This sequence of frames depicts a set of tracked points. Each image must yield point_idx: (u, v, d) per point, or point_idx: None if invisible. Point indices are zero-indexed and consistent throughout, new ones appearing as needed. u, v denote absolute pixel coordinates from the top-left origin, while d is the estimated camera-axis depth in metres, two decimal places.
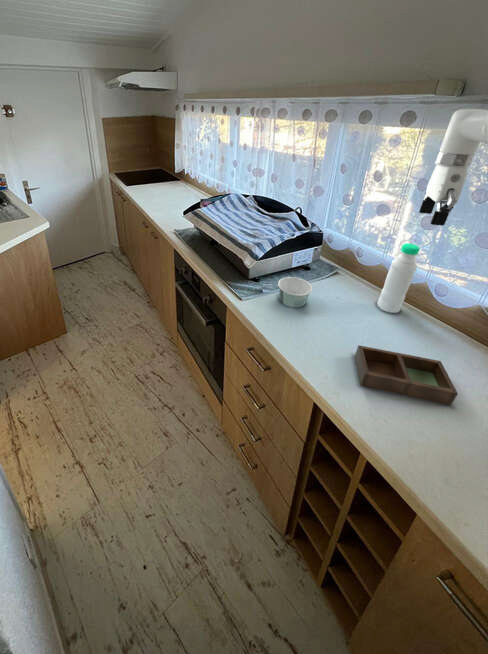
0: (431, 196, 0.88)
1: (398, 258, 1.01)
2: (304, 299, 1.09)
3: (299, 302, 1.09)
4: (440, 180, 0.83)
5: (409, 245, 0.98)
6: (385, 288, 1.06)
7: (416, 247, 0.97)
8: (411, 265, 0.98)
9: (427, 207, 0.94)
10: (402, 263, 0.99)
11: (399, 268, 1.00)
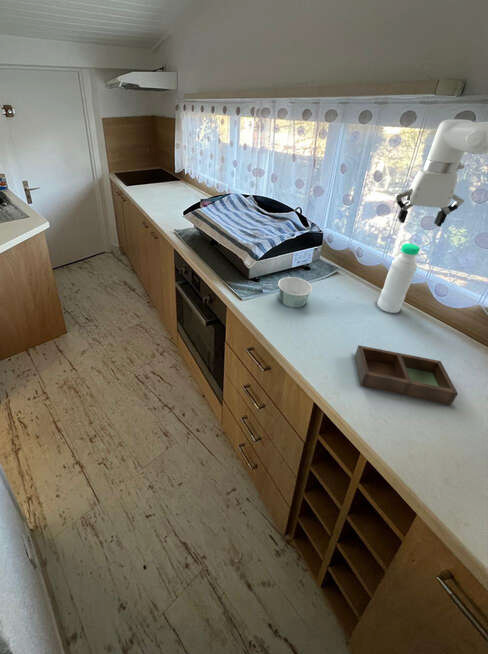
0: (431, 204, 0.89)
1: (398, 258, 1.01)
2: (304, 299, 1.09)
3: (299, 302, 1.09)
4: (448, 188, 0.86)
5: (409, 245, 0.98)
6: (385, 288, 1.06)
7: (416, 247, 0.97)
8: (411, 265, 0.98)
9: None
10: (403, 263, 0.99)
11: (399, 268, 1.00)
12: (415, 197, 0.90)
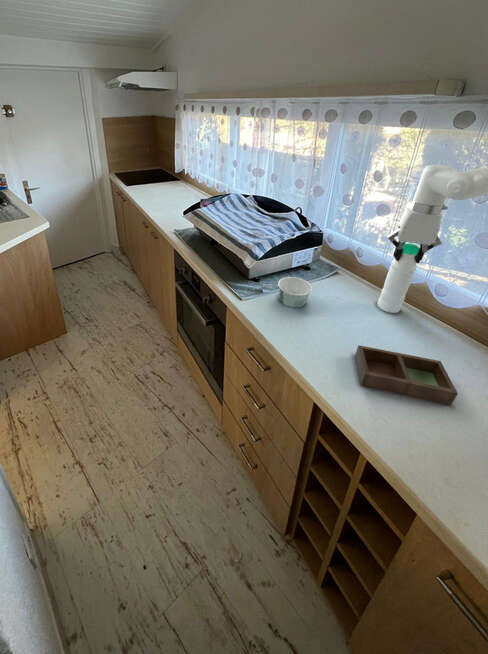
0: (418, 241, 0.95)
1: None
2: (304, 299, 1.09)
3: (299, 302, 1.09)
4: (433, 227, 0.92)
5: (409, 245, 0.98)
6: (385, 288, 1.06)
7: (416, 247, 0.97)
8: (411, 265, 0.98)
9: None
10: (402, 263, 0.99)
11: (399, 268, 1.00)
12: (403, 234, 0.95)
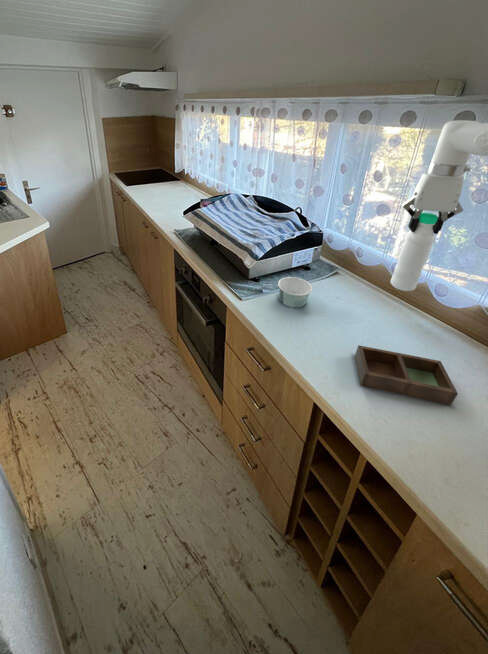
0: (437, 208, 0.86)
1: None
2: (304, 299, 1.09)
3: (299, 302, 1.09)
4: (454, 191, 0.83)
5: (426, 214, 0.89)
6: (399, 263, 0.97)
7: (434, 216, 0.88)
8: (429, 236, 0.89)
9: None
10: (419, 234, 0.90)
11: (415, 240, 0.91)
12: (419, 201, 0.87)
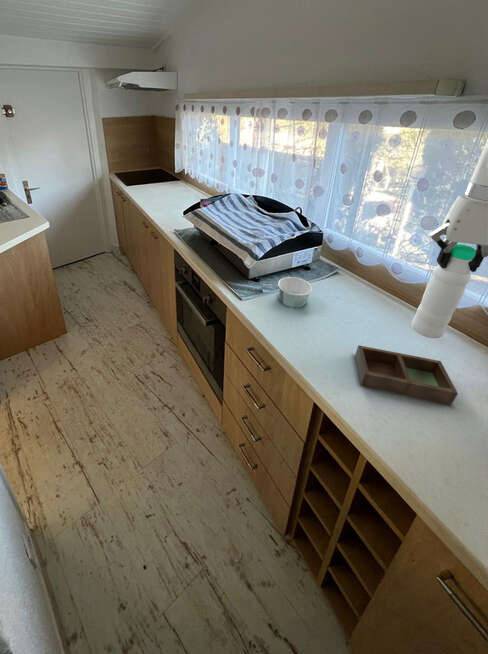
0: (476, 241, 0.67)
1: None
2: (304, 299, 1.09)
3: (299, 302, 1.09)
4: None
5: (461, 246, 0.70)
6: (424, 305, 0.78)
7: (471, 249, 0.69)
8: (464, 275, 0.70)
9: None
10: (451, 271, 0.71)
11: (446, 279, 0.72)
12: (454, 231, 0.68)
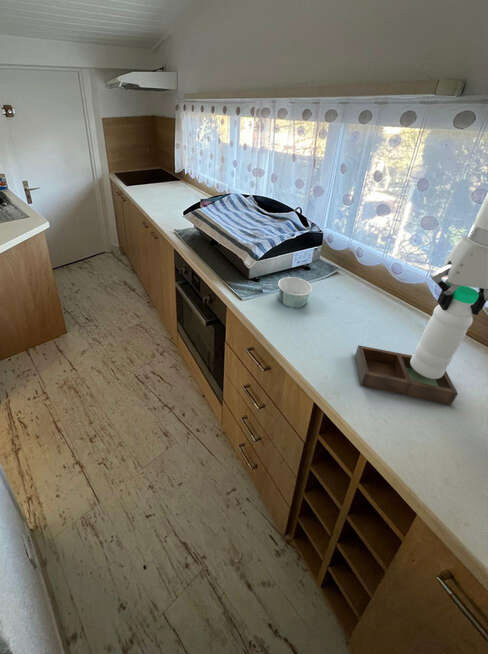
0: (479, 285, 0.64)
1: None
2: (304, 299, 1.09)
3: (299, 302, 1.09)
4: None
5: (463, 289, 0.67)
6: (423, 345, 0.75)
7: (474, 292, 0.66)
8: (466, 318, 0.67)
9: None
10: (452, 314, 0.68)
11: (447, 321, 0.69)
12: (456, 275, 0.64)
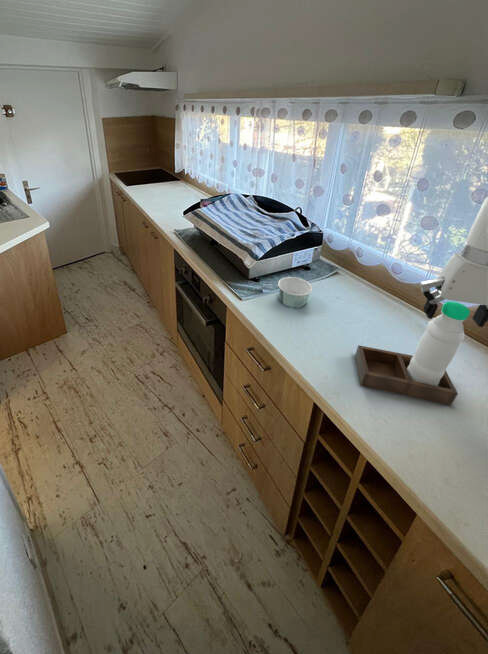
0: (471, 300, 0.66)
1: (438, 322, 0.72)
2: (304, 299, 1.09)
3: (299, 302, 1.09)
4: None
5: (454, 305, 0.69)
6: (417, 358, 0.77)
7: (465, 309, 0.68)
8: (458, 334, 0.69)
9: None
10: (445, 330, 0.70)
11: (439, 337, 0.71)
12: (449, 290, 0.66)
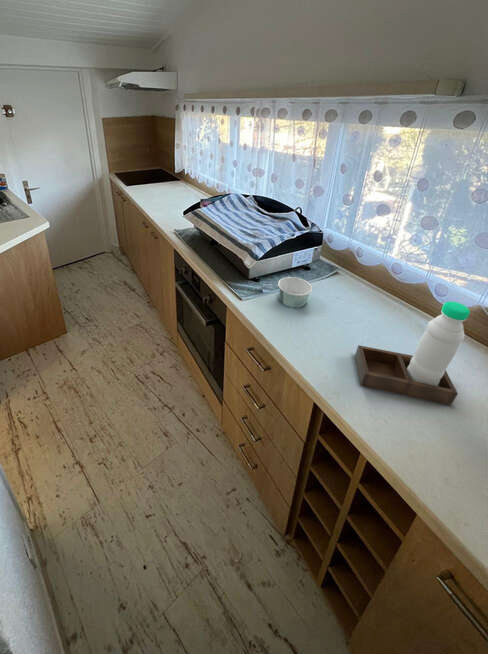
0: None
1: (438, 322, 0.72)
2: (304, 299, 1.09)
3: (299, 302, 1.09)
4: None
5: (454, 305, 0.69)
6: (417, 358, 0.77)
7: (465, 309, 0.68)
8: (458, 334, 0.69)
9: None
10: (445, 330, 0.70)
11: (439, 337, 0.71)
12: None
